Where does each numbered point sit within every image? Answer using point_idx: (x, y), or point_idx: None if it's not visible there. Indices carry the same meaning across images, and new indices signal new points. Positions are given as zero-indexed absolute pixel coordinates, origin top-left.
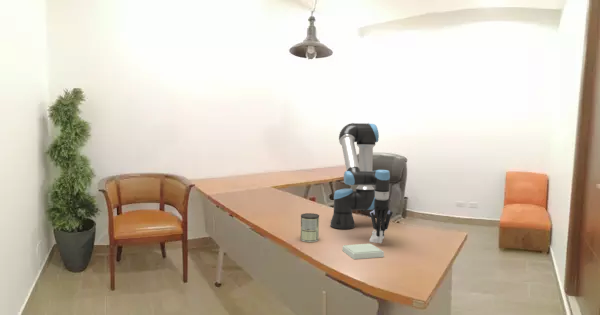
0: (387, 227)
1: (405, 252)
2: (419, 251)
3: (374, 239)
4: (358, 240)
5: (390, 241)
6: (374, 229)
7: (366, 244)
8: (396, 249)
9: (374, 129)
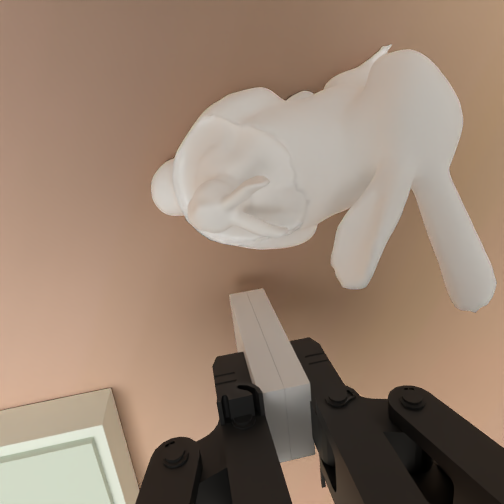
0: (431, 473)
1: None
2: (500, 437)
3: (213, 236)
4: (26, 9)
5: None
6: (257, 190)
7: (29, 479)
8: None
9: None
